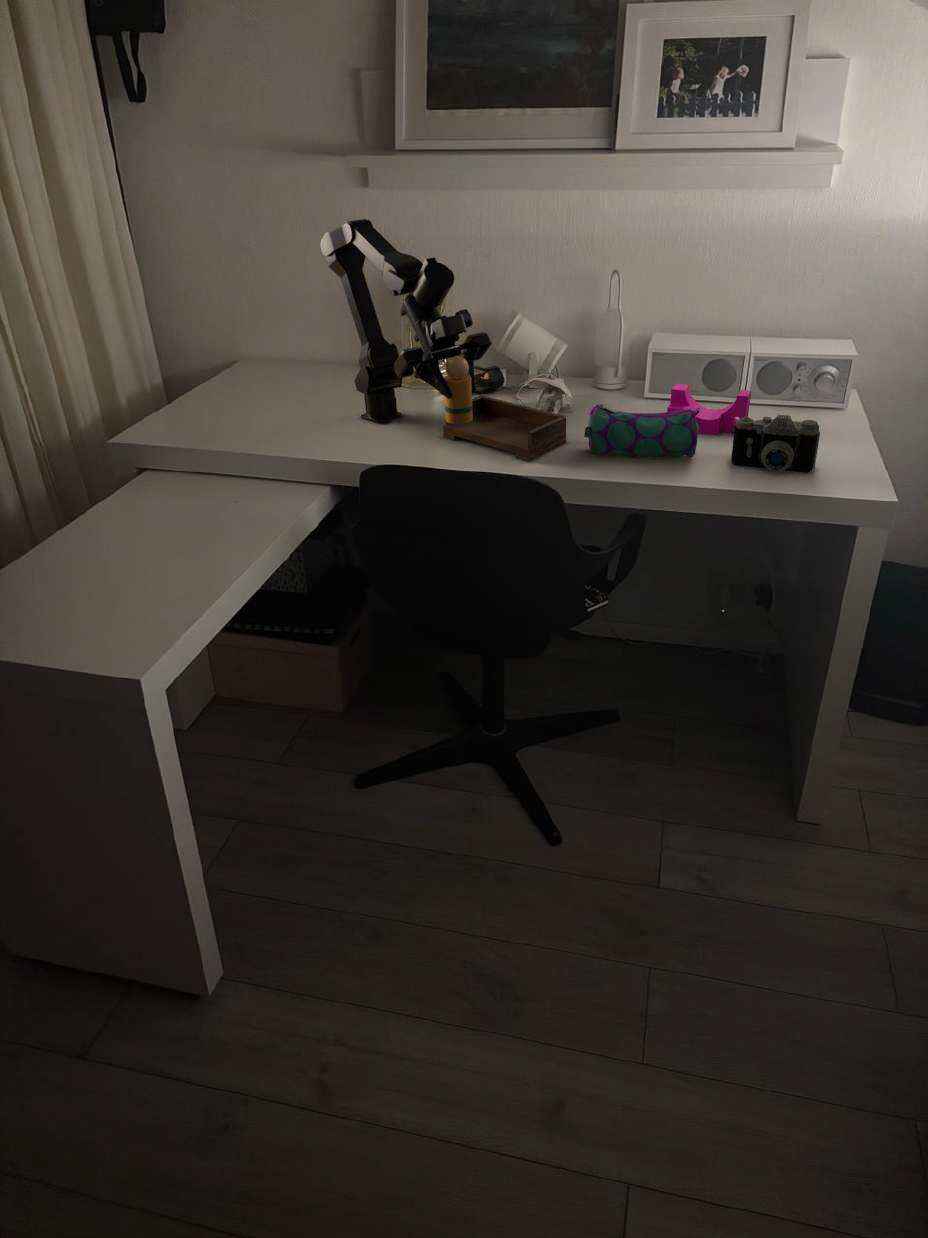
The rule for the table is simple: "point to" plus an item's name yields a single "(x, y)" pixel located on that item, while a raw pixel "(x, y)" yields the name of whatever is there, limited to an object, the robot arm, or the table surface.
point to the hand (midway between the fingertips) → (462, 394)
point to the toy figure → (489, 378)
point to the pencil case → (642, 433)
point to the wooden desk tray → (511, 428)
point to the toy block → (710, 410)
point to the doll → (458, 391)
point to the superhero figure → (551, 393)
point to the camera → (776, 444)
